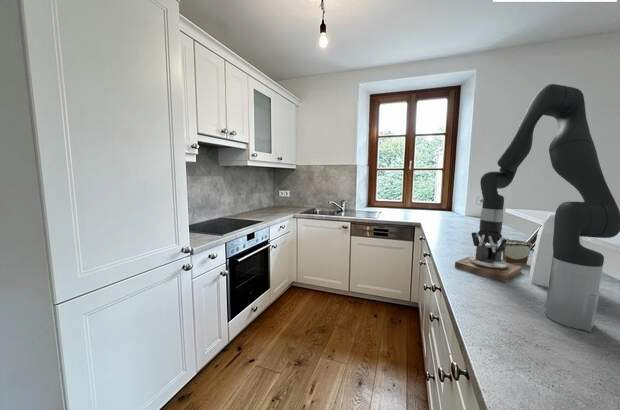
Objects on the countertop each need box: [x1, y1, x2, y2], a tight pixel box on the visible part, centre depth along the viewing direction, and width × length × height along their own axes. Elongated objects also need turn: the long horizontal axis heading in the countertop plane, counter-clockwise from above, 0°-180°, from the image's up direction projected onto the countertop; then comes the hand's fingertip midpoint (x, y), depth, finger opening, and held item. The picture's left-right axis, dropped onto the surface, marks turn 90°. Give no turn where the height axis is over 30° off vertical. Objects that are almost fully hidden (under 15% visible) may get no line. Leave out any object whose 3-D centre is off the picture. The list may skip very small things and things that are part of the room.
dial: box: [469, 244, 507, 269], centre depth 103 cm, size 13×13×8 cm
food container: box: [502, 239, 533, 265], centre depth 114 cm, size 12×6×10 cm, turn 84°
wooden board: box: [454, 254, 522, 283], centre depth 104 cm, size 18×18×3 cm
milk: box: [528, 213, 583, 288], centre depth 90 cm, size 12×12×26 cm
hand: (487, 258), depth 104 cm, fingers closed on dial, 4 cm apart
